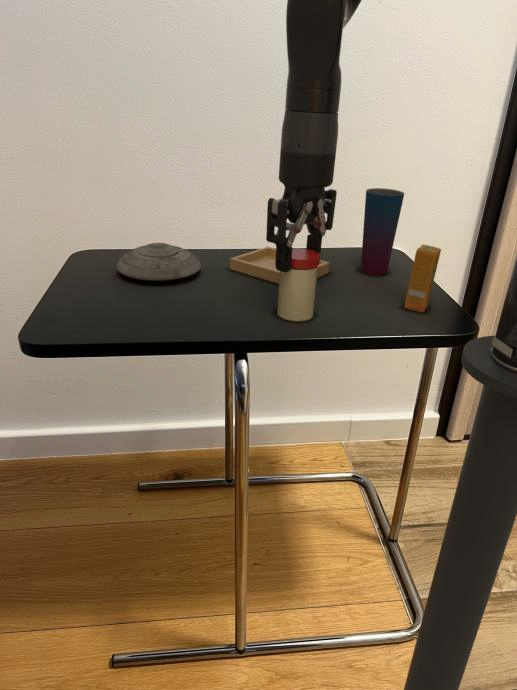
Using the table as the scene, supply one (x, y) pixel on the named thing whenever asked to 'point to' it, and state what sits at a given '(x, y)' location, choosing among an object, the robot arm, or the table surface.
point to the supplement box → (422, 278)
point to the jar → (297, 294)
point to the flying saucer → (158, 263)
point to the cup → (379, 229)
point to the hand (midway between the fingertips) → (298, 264)
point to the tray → (265, 264)
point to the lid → (304, 258)
